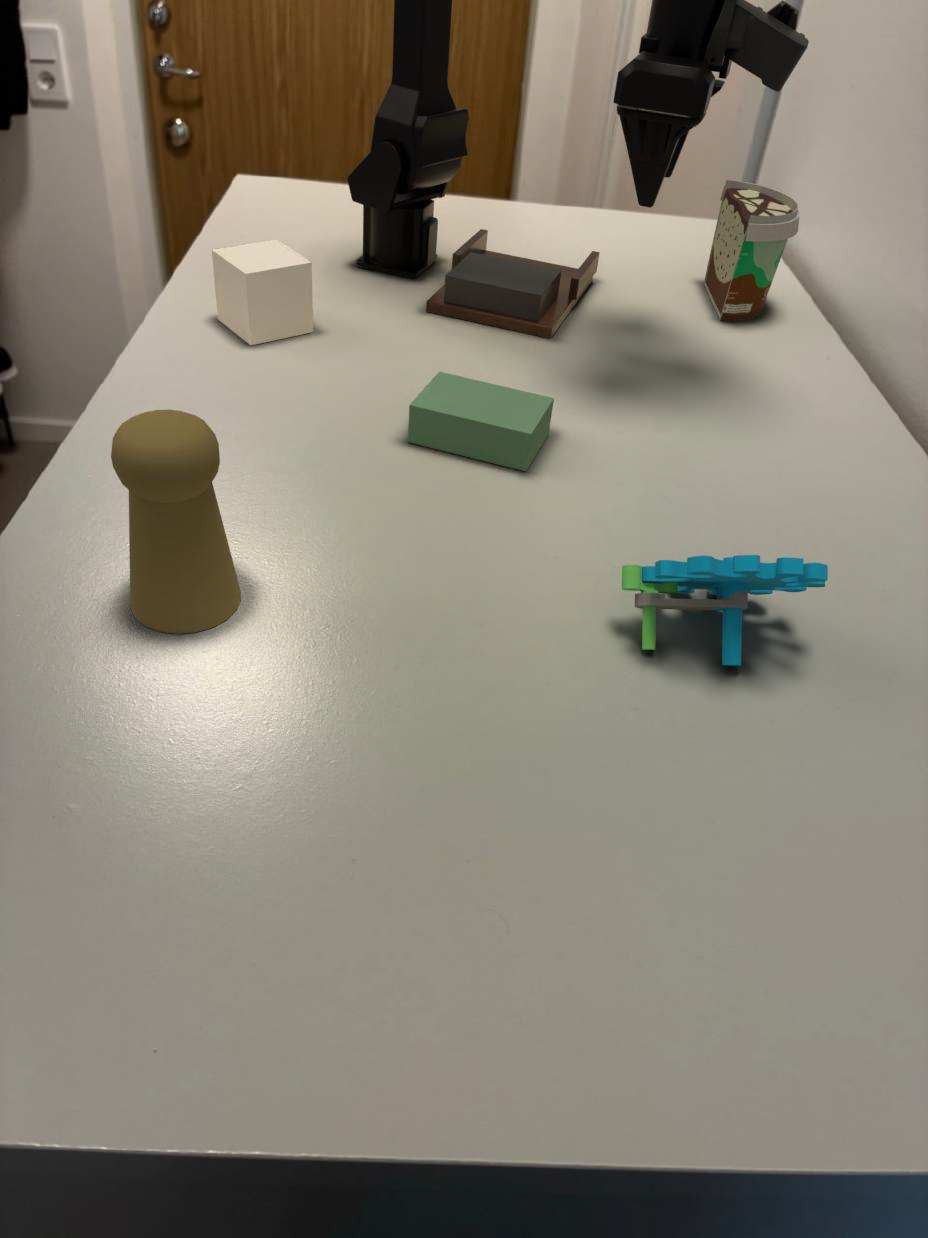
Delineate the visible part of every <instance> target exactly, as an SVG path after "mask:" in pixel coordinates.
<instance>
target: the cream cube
mask: <svg viewBox="0 0 928 1238" xmlns="http://www.w3.org/2000/svg"><path fill="white" fill-rule="evenodd" d="M211 257H212V259H211V260H212V268H213V279H214V280H213V281H214V290H215V301H216V312H217V313H216V314H217V320H218V321H219V322H221V323H222V324H223V325H224V326H225V327H227V328H228V329H229V330H230V331H232V332H233V333H234V334H235V335H237V336H238V337H239V338H241V339H242V340H243V341H244V342H245V343H247V344H248V345H249V346H255V345H260V344H265V343H269V342H274V341H279V340H283V339H288V338H293V337H296V336H297V337H298V336H302V335H305V334H309V333H310V334H311V333H314V309H313V308H314V306H313V305H314V303H313V265H312V264H313V263H312V261H310V260H309V259H307V258H305V256H302V255H300V254H299V253H298V252H296V251H295V250H293V249H291V248H290V247H288V246H286V244H283V243H282V242H280V241H279V240H277V239H272V240H271V239H270V240H265V241H259V242H253V243H245V244H239V245H233V246H228V247H227V246H226V247H220V248H214V249H211Z"/></svg>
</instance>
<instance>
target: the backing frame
mask: <svg viewBox="0 0 928 1238" xmlns="http://www.w3.org/2000/svg"><path fill="white" fill-rule="evenodd" d="M488 235H489V230H488V229H483V228H481V229H479V230H478V231H477V232H476V233H475V234H473V236H471V237H470V238H469V239H468V240H466V242H464V243H463V244H462V245H461V246H460V247H459V248H457V250H455V251H454V252H453V253H452V260H451V269H450V271H448V272H447V273H446V274H445V277H444V284H443V285H442V286H441V287H440V288H439V289H438V290H437V291H435V292H434V293H433V294H432V296H430V298H428V299H427V300H426V302H425V303H426V305H425V312H427V313H431V314H437V315H440V316H446V317H451V318H455V319H458V320H464V321H468V322H474V323H478V324H482V325H487V326H491V327H496V328H501V329H505V330H510V331H514V332H519V333H524V334H528V335H532V336H537V337H543V338H546V339H552V337H553V336H554V334H555V333H556V332H557V330H558V329H559V327H560V326H561V325H562V324H563V323H564V320H566V318H567V316H568V315H569V314H570V312H571V311H572V309H573V308H574V307H575V305H576V304H577V303H578V301H579V300H580V298H581V297H582V296H583V294H584V293H585V292H586V290H587V289H588V287H589V286H590V285H591V283H592V281H593V278H594V276H595V275H596V274H597V272H598V271H597V270H598V265H599V260H600V254H601V253H600V251H594V250H592V251H591V252H590V253H589V255H588V256H587V257H586V258H585V259H584V261H583V262H582V263H581V265H580V266H579V267H578V268H576V267H571V266H566V265H561V264H556V263H551V262H546V261H541V260H536V259H532V258H528V257H527V258H526V257H522V256H517V255H511V254H506V253H502V252H496V251H493V250H492V251H491V250H487V244H488Z"/></svg>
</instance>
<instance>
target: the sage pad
mask: <svg viewBox="0 0 928 1238" xmlns="http://www.w3.org/2000/svg"><path fill="white" fill-rule="evenodd" d="M554 401H555V398H554V397H551V396H547V395H542V394H537V393H534V392H530V391H526V390H521V389H516V388H512V387H508V386H505V385H499V384H495V383H490V382H486V381H483V380H479V379H478V380H477V379H473V378H469V377H464V376H460V375H456V374H451V373H449V372H443V371H438V372H437V374H436V375H434V377H432V379H431V380H430V381H429V383H428V384H426V386H425V387H424V388H423V389H422V390H421V391H420V392H419V393H418V395H417V396H416V397H414V399H413V400H412V401H411V402H410V404H409V406H408V429H407V443H409V444H414V445H417V446H420V447H421V446H422V447H426V448H430V449H434V450H436V451H437V450H438V451H442V452H446V453H450V454H454V455H458V456H462V457H467V458H470V459H474V460H478V461H482V462H487V463H490V464H495V465H498V466H502V467H505V468H510V469H514V470H518V471H522V472H527V471H528V469H529V467H530V466H531V464H532V463H533V461H534V459H535V457H536V456H537V454H538V453H539V451H540V449H541V448H542V446H543V445H544V443H545V441H546V439H548V438H547V437H548V436H549V434H550V427H551V422H552V421H551V420H552V413H553V408H554Z"/></svg>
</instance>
